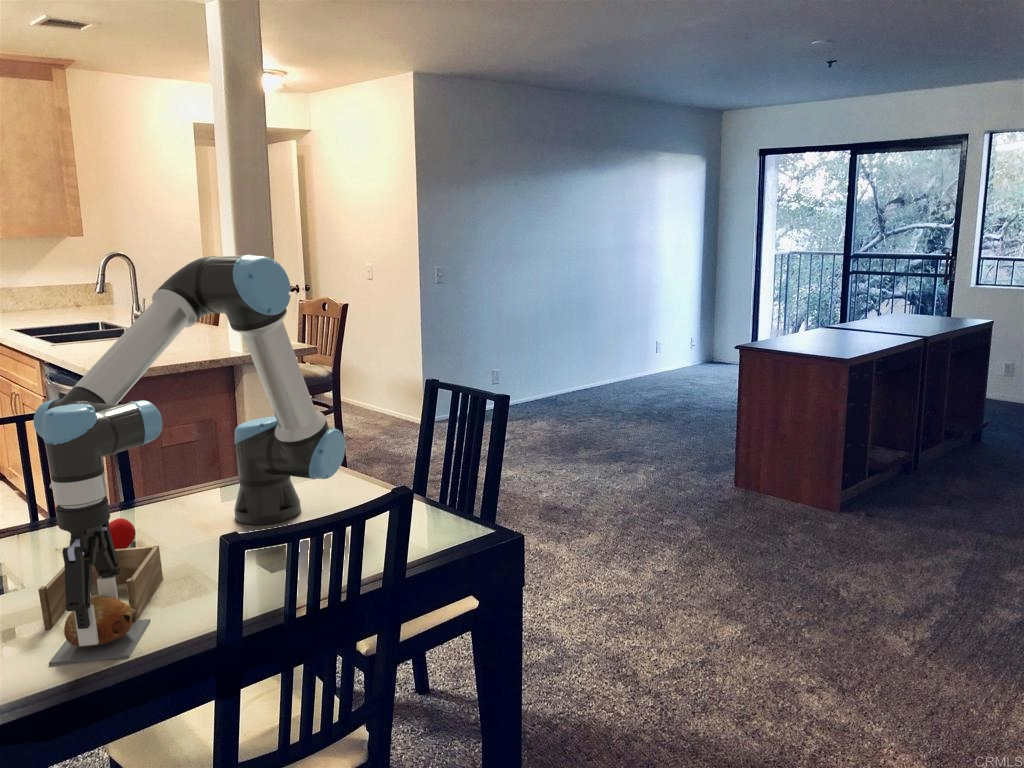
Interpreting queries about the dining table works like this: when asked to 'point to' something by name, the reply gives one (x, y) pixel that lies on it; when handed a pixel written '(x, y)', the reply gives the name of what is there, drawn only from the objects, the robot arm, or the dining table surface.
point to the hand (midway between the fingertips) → (100, 628)
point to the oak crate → (135, 571)
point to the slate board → (101, 647)
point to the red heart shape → (122, 533)
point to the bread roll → (104, 620)
